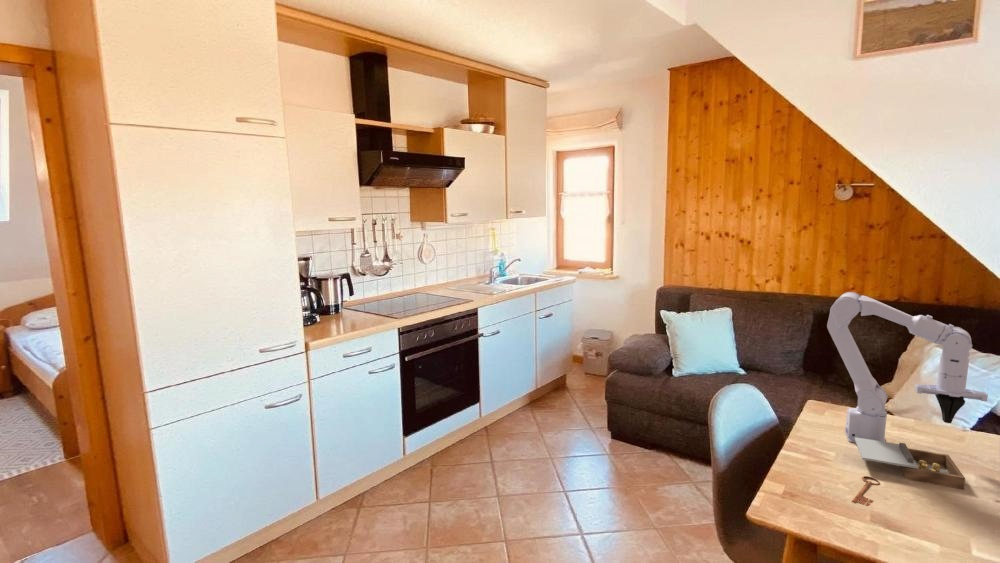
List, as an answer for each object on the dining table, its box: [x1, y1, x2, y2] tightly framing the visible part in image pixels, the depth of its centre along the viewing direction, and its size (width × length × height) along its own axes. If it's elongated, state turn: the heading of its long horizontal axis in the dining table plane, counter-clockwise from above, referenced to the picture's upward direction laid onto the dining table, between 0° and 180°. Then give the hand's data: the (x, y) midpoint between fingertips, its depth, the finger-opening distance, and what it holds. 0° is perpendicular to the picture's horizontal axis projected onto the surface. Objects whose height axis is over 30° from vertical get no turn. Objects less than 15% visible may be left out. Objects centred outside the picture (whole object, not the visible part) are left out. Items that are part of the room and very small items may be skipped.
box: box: [897, 447, 966, 490], centre depth 132 cm, size 12×13×3 cm
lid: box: [855, 437, 918, 469], centre depth 135 cm, size 12×13×2 cm
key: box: [851, 475, 881, 507], centre depth 124 cm, size 6×1×15 cm
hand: (946, 421), depth 137 cm, fingers closed
